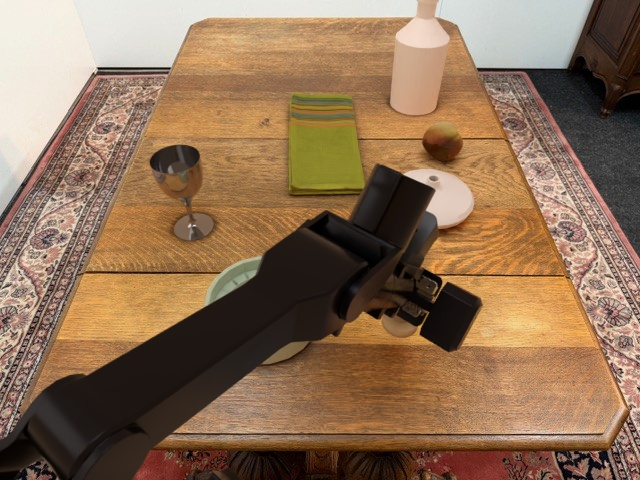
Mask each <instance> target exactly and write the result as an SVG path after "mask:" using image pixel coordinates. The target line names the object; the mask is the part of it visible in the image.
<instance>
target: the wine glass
mask: <svg viewBox="0 0 640 480" xmlns="http://www.w3.org/2000/svg"><path fill="white" fill-rule="evenodd" d="M149 167H150V170H151V173H152V176H153V178H154V181H155V182H156V184H157V186H158V187H159V189H160V190H161V191H162V193H163V194H164V195H165V196H167V197H168V198H170V199H172V200H175V201H178V202H180V203H181V204H182V205H183V206H184V208H185V211H186V212H187V215H184V216H183V217H181V218H179V219H178V220H177V221H176V223H175V225H174V227H173V232H174V235H175V236H176V237H177V238H179V239H180V240H183V241H198V240H200V239H203V238H205V237H207V236H208V235H210V233H211V232H212V231H213V229H214V226H215V224H214V220H213V219H212V217H211V216H210V215H207V214H206V213H201V212H199V213H198V212H197V213H194V212H193V205H192V202H193V199H194V198H195V197H196V196H197V194H198V193H199V192H200V190H201V189H202V186H203V181H204V167H203V161H202V157H201V153H200V151H199V150H198V149H197V148H196V147H195V146H193V145H189V144H171V145H168V146H164V147H162V148H160V149H158V150H157V151H155V152H154V153H153V154H152V155H151V157H150V158H149Z"/></svg>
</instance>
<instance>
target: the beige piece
mask: <svg viewBox="0 0 640 480" xmlns="http://www.w3.org/2000/svg"><path fill="white" fill-rule="evenodd" d="M398 310H399V309H398ZM397 312H398V311H397ZM396 314H397V313H396ZM381 325H382V328H383V329H384V331H385V332H386V333H387V334H389V335H390V336H392V337H393V338H399V339H406V338H410V337H412V336H414V334H416V332H418V329H419V326H417V327H416V326H413V325H411V324H410V323H408V322H406V321H405V320H403V319H401V318H400V317H398V316H396V315H395V316H394V318H390V317H388V316H386V315H385V314H383V316H382V318H381Z"/></svg>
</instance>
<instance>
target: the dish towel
mask: <svg viewBox="0 0 640 480" xmlns="http://www.w3.org/2000/svg"><path fill="white" fill-rule="evenodd" d="M288 117H289V118H288V119H289V120H288V193H289V194H290V195H349V194H350V195H352V194H353V195H354V194H359V195H360V194H361V192H362V190H363V188H364V186H365V184H366V181H365V175H364V168H363V163H362V156H361V153H360V152H361V151H360V146H359V139H358V134H357V133H358V132H357V123H356V115H355V109H354V101H353V96H351V95H348V94H338V93H333V94H332V93H315V94H312V93H311V94H310V93H302V92H291V95H290V97H289V113H288Z"/></svg>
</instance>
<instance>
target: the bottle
mask: <svg viewBox="0 0 640 480" xmlns="http://www.w3.org/2000/svg"><path fill="white" fill-rule="evenodd" d="M416 1H417V8H416V14H415V16H414V17H413V18H412V19H411V20H410V21H409V22H408V23H406V25H404V26H403V27H401V29H400V30H398V31H397V32H396V34H395V41H394V51H393V63H392V74H391V75H392V76H391V85H390V86H391V87H390V97H389V105H390V106H391V108H392V109H393V110H395V111H396V112H397V113H400V114H404V115H408V116H423V115H424V116H425V115H427V114H428V115H429V114H430V113H432V112H434V111H435V110H436V108H437V105H438V101H439V96H440V89H441V85H442V81H443V75H444V71H445V65H446V61H447V55H448V50H449V45H450V42H451V41H450V37H451V36H450V35H449V34H448V33H447V31H446V30H445V29H444V28H443V27H442V25H441V23H440V22H439V21H438V19H437V18H436V16H435V15H436V10H437V6H438V3H439V1H440V0H416Z"/></svg>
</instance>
